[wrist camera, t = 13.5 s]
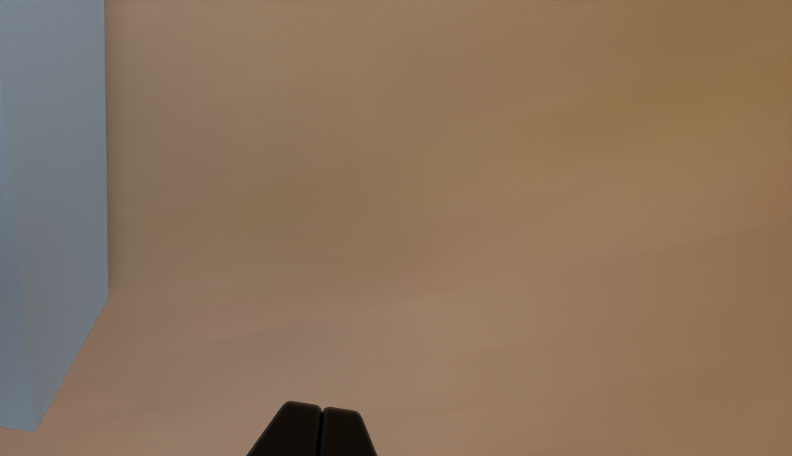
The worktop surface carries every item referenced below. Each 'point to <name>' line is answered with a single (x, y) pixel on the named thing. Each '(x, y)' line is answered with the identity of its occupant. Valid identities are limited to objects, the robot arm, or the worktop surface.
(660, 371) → the worktop surface
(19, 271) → the tray
